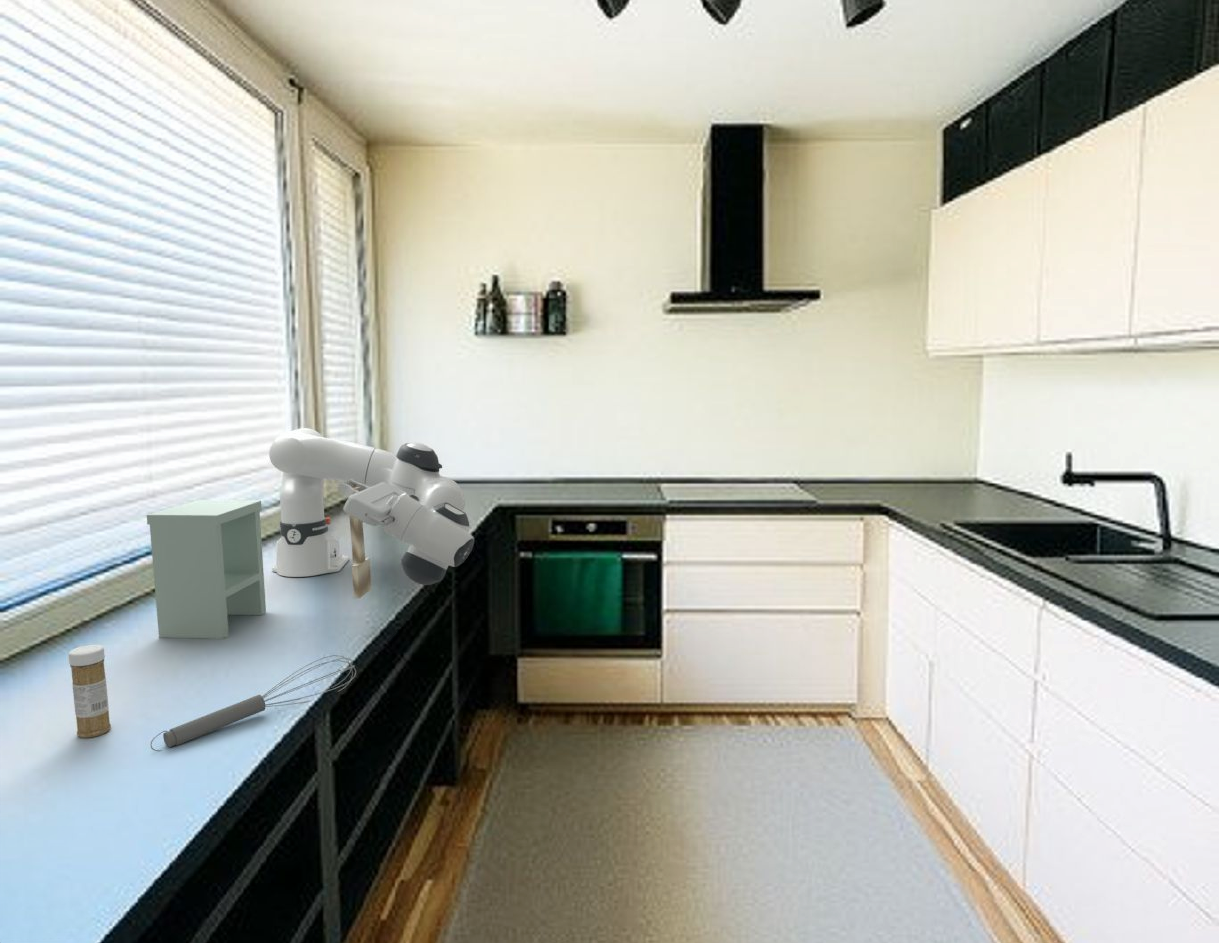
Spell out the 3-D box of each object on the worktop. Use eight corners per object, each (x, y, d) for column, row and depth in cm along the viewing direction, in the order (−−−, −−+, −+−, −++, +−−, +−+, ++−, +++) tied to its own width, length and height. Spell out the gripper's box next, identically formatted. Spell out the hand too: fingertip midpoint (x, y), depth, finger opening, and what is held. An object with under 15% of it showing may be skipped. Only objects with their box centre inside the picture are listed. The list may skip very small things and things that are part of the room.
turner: (359, 598, 171) (351, 598, 171) (371, 589, 178) (363, 589, 178) (351, 490, 168) (342, 490, 168) (363, 485, 175) (355, 485, 175)
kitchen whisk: (143, 748, 121) (139, 707, 120) (344, 681, 147) (342, 647, 146) (160, 760, 117) (157, 719, 116) (363, 689, 143) (362, 655, 142)
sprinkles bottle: (106, 723, 129) (98, 641, 127) (115, 731, 126) (107, 648, 124) (72, 732, 125) (64, 649, 124) (81, 741, 122) (72, 656, 121)
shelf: (205, 611, 187) (197, 500, 184) (268, 612, 186) (261, 500, 183) (156, 637, 169) (146, 514, 166) (225, 638, 168) (216, 515, 165)
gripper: (376, 539, 162) (316, 505, 162) (409, 519, 182) (355, 489, 182) (391, 512, 161) (330, 478, 161) (421, 495, 181) (367, 465, 181)
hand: (343, 483), depth 171 cm, fingers closed on turner, 2 cm apart
